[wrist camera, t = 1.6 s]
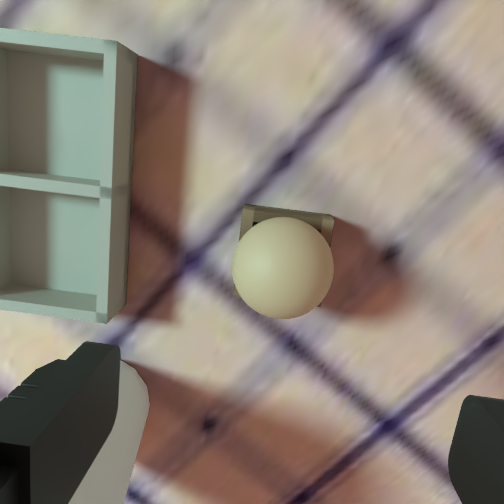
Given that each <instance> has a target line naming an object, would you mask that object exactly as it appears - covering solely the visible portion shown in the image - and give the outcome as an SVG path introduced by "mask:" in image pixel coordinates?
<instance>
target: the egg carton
mask: <svg viewBox="0 0 504 504" xmlns="http://www.w3.org/2000/svg"><path fill="white" fill-rule="evenodd" d="M137 59H138V55H137V54H136V53H134V52H133V51H131V50H130V49H128V48H127V47H125V46H124V45H122V44H121V43H119V42H118V41H113V40H104V39H95V38H86V37H77V36H68V35H59V34H50V33H41V32H32V31H24V30H15V29H6V28H0V309H1V310H8V311H16V312H23V313H31V314H38V315H45V316H53V317H60V318H68V319H75V320H83V321H90V322H97V323H105V324H107V323H108V322H109V321H110V320H111V319H112V318H113V317H114V316H115V315H116V314H117V313H118V312H119V311H120V310H121V309H122V308H123V307H124V306H125V305H126V293H127V272H128V251H129V230H130V208H131V187H132V166H133V144H134V123H135V102H136V81H137Z"/></svg>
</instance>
